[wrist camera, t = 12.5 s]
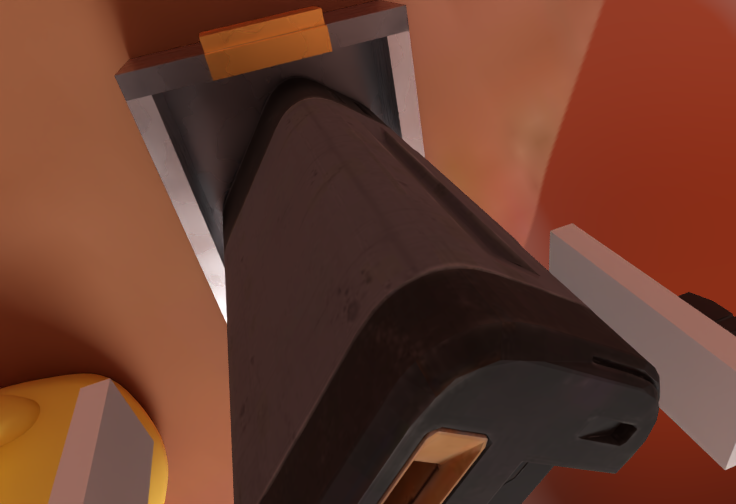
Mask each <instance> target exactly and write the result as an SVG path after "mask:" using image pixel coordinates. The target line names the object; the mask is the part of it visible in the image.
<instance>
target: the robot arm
mask: <svg viewBox="0 0 736 504" xmlns="http://www.w3.org/2000/svg"><path fill="white" fill-rule="evenodd" d="M549 272H550V273H551V274H552V275H553V276H555V277H556V278H557V279H558V280H559V281H560V282H561V283H562V284H563V285H564V286H566V287H567V288H568V289H569V290H570V291H571V292H572V293H573V294H574V295H576V296H577V297H578V298H579V299H580V300H581V301H582V302H583V303H584V304H586V305H587V306H588V307H589V308H590V309H591V310H592V311H593V312H594V313H595V314H596V315H597V316H598V317H599V318H601V319H602V320H603V321H604V322H605V323H606V324H607V325H608V326H609V327H611V328H612V329H613V330H614V331H615V332H616V333H617V334H618V335H619V336H621V337H622V338H623V339H624V340H625V341H626V342H627V343H628V344H629V345H630V346H632V347H633V348H634V349H635V350H636V351H637V352H638V353H639V354H640V355H642V356H643V357H644V358H645V359H646V360H647V361H648V362H649V363H650V364H652V365H653V366H654V367H655V368H656V370H657V372H658V374H659V376H660V399H659V407H660V408H661V409H662V410H663V411H664V412H665V413H666V414H667V415H668V416H669V417H670V418H671V419H672V420H673V421H674V422H675V423H676V424H677V425H679V426H680V427H681V428H682V429H683V430H684V431H685V432H686V433H687V434H688V435H689V436H690V437H691V438H692V439H693V440H694V441H695V442H696V443H697V444H698V445H699V446H700V447H701V448H703V450H705V451H706V452H707V453H708V454H709V455H710V456H711V457H712V458H713V459H714V460H715V461H716V462H717V463H718V464H719V465H720V466H721V467H722V468H723V469H724V470H726V469H729V468H731V467H733V466H735V465H736V317H734V316H733V314H732V313H731V312H729V311H728V310H726V309H724V308H723V307H721V306H720V305H718V304H717V303H715V302H714V301H712V300H709V299H706V298H703V297H701V296H698V295H695V294H693V293H690V292H688V293H686V294H683V295H680V296H676V295H675V294H673V293H672V292H671V291H669V290H668V289H666V288H665V287H663V286H662V285H660V284H659V283H658V282H656V281H655V280H653V279H652V278H650V277H649V276H648V275H646V274H645V273H643V272H642V271H640V270H639V269H637V268H636V267H634V266H633V265H632V264H630V263H629V262H627V261H626V260H624V259H623V258H622V257H620V256H619V255H617V254H616V253H614V252H613V251H612V250H610V249H609V248H607V247H606V246H604V245H603V244H601V243H600V242H599V241H597V240H596V239H594V238H593V237H591V236H590V235H588V234H587V233H585V232H584V231H583V230H581V229H580V228H578V227H577V226H575V225H574V224H569V225H566V226H563V227H560V228H557V229H554V230H552V231H550V255H549ZM153 446H154V441H153V439H152V438H151V436H150V435H149V434H148V432H147V431H146V429H145V428H144V426H143V425H142V423H141V422H140V421H139V419H138V418H137V416H136V415H135V413H134V412H133V410H132V409H131V408H130V406H129V405H128V403H127V402H126V400H125V399H124V397H123V396H122V395H121V393H120V392H119V390H118V389H117V387H116V386H115V384H114V383H113V382H112V380H111V379H110V378H109V379H106V380H103V381H100V382H97V383H94V384H91V385H88V386H85V387H82V388H80V391H79V395H78V398H77V402H76V406H75V409H74V413H73V416H72V420H71V423H70V427H69V430H68V434H67V438H66V441H65V445H64V448H63V452H62V455H61V459H60V462H59V466H58V470H57V473H56V477H55V480H54V484H53V487H52V491H51V495H50V498H49V502H48V504H148V498H149V488H150V477H151V467H152V456H153Z"/></svg>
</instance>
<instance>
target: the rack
mask: <svg viewBox="0 0 736 504" xmlns="http://www.w3.org/2000/svg"><path fill="white" fill-rule="evenodd" d="M199 39H200V41H201V42H199V43H195V44H191V45H187V46H183V47H178V48H174V49H170V50H166V51H162V52H158V53H153V54H149V55H145V56H141V57H137V58H132V59H129V60H128V61H127V62H126V63H125V64H124V66H123V67H122V68H121V69H120V70H119V71H118V72H117V73H116V74H115V78H116V80H117V82H118V84H119V87H120V89H121V91H122V93H123V95H124V98H125V100H126V102H127V104H128V106H129V109H130V111H131V113H132V115H133V117H134V120H135V122H136V124H137V126H138V128H139V131H140V133H141V135H142V137H143V140H144V142H145V144H146V146H147V148H148V151H149V153H150V155H151V157H152V159H153V162H154V164H155V166H156V168H157V170H158V173H159V175H160V177H161V179H162V181H163V184H164V186H165V188H166V190H167V192H168V195H169V197H170V199H171V201H172V203H173V206H174V208H175V210H176V212H177V214H178V217H179V219H180V221H181V223H182V226H183V228H184V230H185V232H186V234H187V237H188V239H189V241H190V243H191V245H192V248H193V250H194V252H195V254H196V256H197V259H198V261H199V263H200V265H201V267H202V270H203V272H204V274H205V276H206V278H207V281H208V283H209V285H210V287H211V289H212V292H213V294H214V296H215V298H216V300H217V303H218V305H219V307H220V309H221V312H222V314H223V316H224V318H225V320H226V323H227V313H226V288H225V263H224V242H223V207H224V204H225V201H226V198H227V196H228V193H229V191H230V188H231V186H232V184H233V181H234V179H235V176H236V174H237V171H238V169H239V166H240V164H241V161H242V159H243V157H244V154H245V152H246V149H247V147H248V144H249V142H250V139H251V137H252V134H253V132H254V130H255V127H256V125H257V122H258V120H259V117H260V115H261V112H262V110H263V107H264V105H265V103H266V100H267V99H268V97H269V95H270V93H271V91H272V90H273V89H274V87H275V86H276V85H278V84H279V83H280V82H282V81H283V80H285V79H287V78H290V77H295V76H302V77H307V78H311V79H313V80H316V81H318V82H320V83H322V84H324V85H326V86H328V87H330V88H332V89H335V90H337V91H339V92H341V93H343V94H345V95H347V96H349V97H351V98H353V99H355V100H357V101H359V102H360V103H362V104H363V105H365V106H366V107H367V108H368V109H370V110H371V111H372V112H373V113H374V114H375V115H376V116H377V117H379V118H380V119H381V120H382V121H383V122H384V123H385V124H386V125H387V126H389V127H390V128H391V129H392V130H393V131H394V132H395V133H396V134H397V135H398V136H399V137H401V138H402V139H403V140H404V141H405V142H406V143H407V144H408V145H410V146H411V147H412V148H413V149H414V150H416V151H418V152H419V153H420V154H421V155H422V156H423V157H424V158H425V154H424V146H423V138H422V130H421V122H420V114H419V106H418V98H417V90H416V82H415V74H414V66H413V58H412V50H411V42H410V34H409V26H408V18H407V10H406V5H402V4H397V3H392V2H387V1H382V0H376V1H372V2H367V3H363V4H359V5H355V6H351V7H346V8H342V9H338V10H334V11H330V12H325V13H322V9H321V8H320V7H317V6H311V7H306V8H302V9H298V10H294V11H289V12H285V13H281V14H277V15H272V16H268V17H264V18H260V19H255V20H251V21H247V22H243V23H238V24H234V25H230V26H226V27H221V28H217V29H213V30H209V31H204V32H200V34H199Z"/></svg>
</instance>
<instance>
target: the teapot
mask: <svg viewBox="0 0 736 504" xmlns="http://www.w3.org/2000/svg"><path fill="white" fill-rule="evenodd" d="M106 379H109V378H107V377H105V376H102V375H97V374H88V373H80V374H70V375H62V376H55V377H49V378H43V379H38V380H33V381H28V382H23V383H19V384H15V385H11V386H7V387H4V388H0V504H48V502H49V498H50V495H51V491H52V487H53V484H54V480H55V477H56V473H57V470H58V466H59V462H60V459H61V455H62V452H63V448H64V445H65V441H66V438H67V434H68V430H69V427H70V423H71V420H72V416H73V413H74V409H75V406H76V402H77V398H78V395H79V391H80V388H82V387H85V386H88V385H91V384H94V383H97V382H100V381H103V380H106ZM111 380H112V379H111ZM112 382H113V383H114V384H115V386H116V387H117V389H118V390H119V392H120V393H121V395H122V396H123V397H124V399H125V400H126V402H127V403H128V405H129V406H130V408H131V409H132V410H133V412H134V413H135V415H136V416H137V418H138V419H139V421H140V422H141V423H142V425H143V426H144V428H145V429H146V431H147V432H148V434H149V435H150V436H151V438H152V439H153V441H154V446H153V456H152V467H151V477H150V488H149V498H148V504H164V502H165V496H166V490H167V482H168V461H167V456H166V451H165V447H164V444H163V441H162V438H161V436H160V434H159V432H158V430H157V428H156V427H155V425H154V423H153V422H152V420H151V419H150V417H149V416H148V414H147V413H146V412H145V410H144V409H143V408H142V407H141V405H140V404H139V403H138V402H137V401H136V400H135V399H134V398H133V396H132V395H131V394H130V393H129V392H128V391H127V390H126V389H124V388H123V387H122V386H121V385H120V384H118V383H117V382H115V381H114V380H112Z"/></svg>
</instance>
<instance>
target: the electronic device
mask: <svg viewBox="0 0 736 504" xmlns="http://www.w3.org/2000/svg"><path fill="white" fill-rule="evenodd" d="M223 242H224V263H225V288H226V313H227V338H228V363H229V388H230V413H231V438H232V463H233V488H234V504H522V502H523V501H524V500H525V499H526V498H527V497H528V495H529V494H530V493H531V492H532V491H533V490H534V488H535V487H536V486H537V485H538V484H539V483H540V482H541V480H542V479H543V478H544V477H545V476H546V475H547V473H548V472H549V471H550V470H551V469H552V468H553V466H561V467H569V468H576V469H584V470H592V471H599V472H607V473H617V471H618V470H619V469H620V468H621V467H622V466H623V465H624V464H625V463H626V462H627V461H628V460H629V459H630V458H631V457H632V456H633V454H634V453H635V452H636V451H637V450H638V449H639V447H640V446H641V445H642V444H643V443H644V442H645V440H646V439H647V437H648V435H649V433H650V432H651V430H652V428H653V426H654V424H655V422H656V420H657V416H658V411H659V399H660V376H659V374H658V372H657V370H656V368H655V367H654V366H653V365H652V364H650V363H649V362H648V361H647V360H646V359H645V358H644V357H643V356H642V355H640V354H639V353H638V352H637V351H636V350H635V349H634V348H633V347H632V346H630V345H629V344H628V343H627V342H626V341H625V340H624V339H623V338H622V337H621V336H619V335H618V334H617V333H616V332H615V331H614V330H613V329H612V328H611V327H609V326H608V325H607V324H606V323H605V322H604V321H603V320H602V319H601V318H599V317H598V316H597V315H596V314H595V313H594V312H593V311H592V310H591V309H590V308H589V307H588V306H587V305H586V304H584V303H583V302H582V301H581V300H580V299H579V298H578V297H577V296H576V295H574V294H573V293H572V292H571V291H570V290H569V289H568V288H567V287H566V286H564V285H563V284H562V283H561V282H560V281H559V280H558V279H557V278H556V277H555V276H553V275H552V274H551V273H550V272H549V271H548V270H547V269H546V268H544V267H543V266H542V265H541V264H540V263H539V262H538V261H537V260H535V258H533V257H532V256H531V255H530V254H529V253H528V252H527V251H526V250H525V249H524V248H522V246H521V245H520V244H519V243H518V242H517V241H516V240H515V239H514V238H513V237H512V236H511V235H510V234H509V233H508V232H507V231H506V230H504V229H503V228H502V227H501V226H500V225H499V224H498V223H497V222H496V221H494V220H493V219H492V218H491V217H490V216H489V215H488V214H487V213H485V212H484V211H483V210H482V209H481V208H480V207H479V206H478V205H477V204H475V203H474V202H473V201H472V200H471V199H470V198H469V197H468V196H467V195H465V194H464V193H463V192H462V191H461V190H460V189H459V188H458V187H457V186H455V185H454V184H453V183H452V182H451V181H450V180H449V179H448V178H446V177H445V176H444V175H443V174H442V173H441V172H440V171H439V170H438V169H436V168H435V167H434V166H433V165H432V164H431V163H430V162H429V161H428V160H426V159H425V158H424V157H423V156H422V155H421V154H420V153H419V152H418V151H416V150H414V149H413V148H412V147H411V146H410V145H408V144H407V143H406V142H405V141H404V140H403V139H402V138H401V137H399V136H398V135H397V134H396V133H395V132H394V131H393V130H392V129H391V128H390V127H389V126H387V125H386V124H385V123H384V122H383V121H382V120H381V119H380V118H379V117H377V116H376V115H375V114H374V113H373V112H372V111H371V110H370V109H368V108H367V107H366V106H365V105H363V104H362V103H360V102H359V101H357V100H355V99H353V98H351V97H349V96H347V95H345V94H343V93H341V92H339V91H337V90H335V89H332V88H330V87H328V86H326V85H324V84H322V83H320V82H318V81H316V80H313V79H311V78H307V77H302V76H295V77H290V78H287V79H285V80H283V81H282V82H280V83H279V84H278V85H276V86H275V87H274V89H273V90H272V91H271V93H270V95H269V97H268V99H267V100H266V103H265V105H264V107H263V110H262V112H261V115H260V117H259V120H258V122H257V125H256V127H255V130H254V132H253V134H252V137H251V139H250V142H249V144H248V147H247V149H246V152H245V154H244V157H243V159H242V161H241V164H240V166H239V169H238V171H237V174H236V176H235V179H234V181H233V184H232V186H231V188H230V191H229V193H228V196H227V198H226V201H225V204H224V207H223Z"/></svg>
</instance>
